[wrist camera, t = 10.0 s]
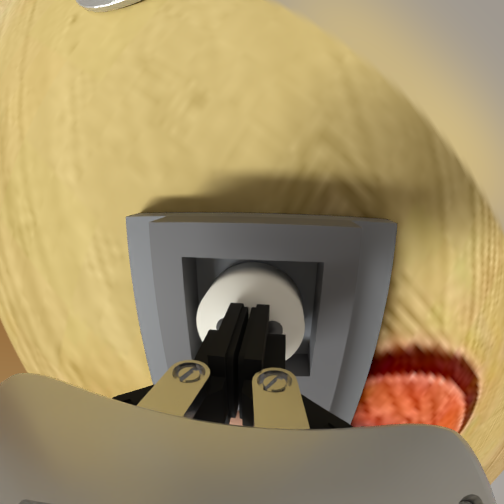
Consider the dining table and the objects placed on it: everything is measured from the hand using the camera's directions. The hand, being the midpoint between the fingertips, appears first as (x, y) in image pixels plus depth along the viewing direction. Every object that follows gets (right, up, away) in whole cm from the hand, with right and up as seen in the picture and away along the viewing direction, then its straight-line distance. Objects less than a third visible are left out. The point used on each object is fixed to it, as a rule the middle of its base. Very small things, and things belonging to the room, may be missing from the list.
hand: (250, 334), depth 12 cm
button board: (0, -8, +6) cm, 10 cm away
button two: (0, +1, +2) cm, 2 cm away
